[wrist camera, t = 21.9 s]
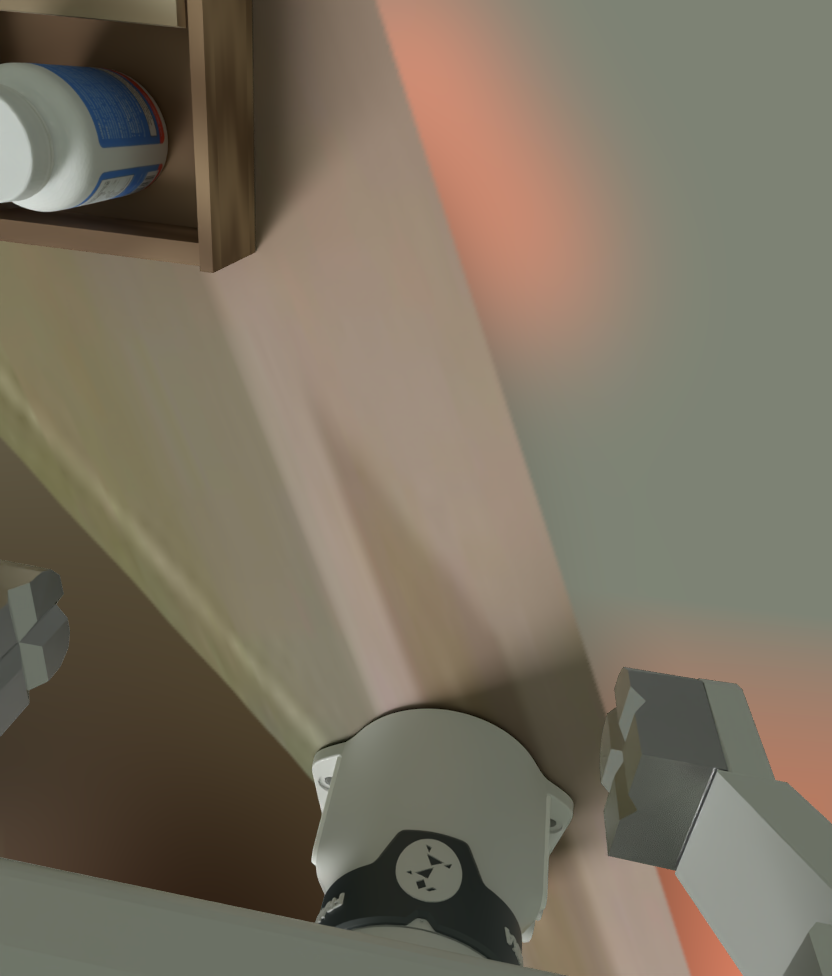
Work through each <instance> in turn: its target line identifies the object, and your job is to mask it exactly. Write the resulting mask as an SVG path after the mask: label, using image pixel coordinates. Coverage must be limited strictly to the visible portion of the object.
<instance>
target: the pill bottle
mask: <svg viewBox="0 0 832 976" xmlns="http://www.w3.org/2000/svg"><path fill="white" fill-rule="evenodd" d="M167 152H168V135H167V129H166V124H165V121H164V118H163V116H162V114H161V111H160V109H159V107H158V106H157V104H156V102H155V101H154V99H153V98H152V96H151V95H150V94H149V93H148V92H147V90H146V89H145V88H144V87H143V86H142V85H140V84H139V83H138V82H137V81H135V80H134V79H132V78H131V77H129V76H127V75H125V74H123V73H121V72H118V71H115V70H111V69H105V68H94V67H80V66H66V65H52V64H37V63H4V64H0V203H4V202H13V203H15V204H17V205H19V206H21V207H24V208H27V209H30V210H35V211H41V212H53V211H60V210H65V209H70V208H74V207H79V206H83V205H87V204H92V203H96V202H100V201H105V200H109V199H114V198H118V197H123V196H127V195H130V194H134V193H137V192H139V191H141V190H143V189H145V188H147V187H148V186H149V185H151V184H152V183H153V182H154V181H155V180H156V179H157V177H158V176H159V175H160V173H161V171H162V169H163V167H164V165H165V162H166V158H167Z"/></svg>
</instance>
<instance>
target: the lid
mask: <svg viewBox="0 0 832 976" xmlns="http://www.w3.org/2000/svg"><path fill="white" fill-rule="evenodd" d="M0 11H11V12H21V13H32V14H42V15H52V16H63V17H73V18H84V19H94V20H104V21H115V22H125V23H136V24H146V25H157V26H167V27H177V28H186V18H185V0H0Z"/></svg>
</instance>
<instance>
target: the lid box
mask: <svg viewBox="0 0 832 976" xmlns="http://www.w3.org/2000/svg"><path fill="white" fill-rule="evenodd" d="M185 18H186V28H177V27H167V26H157V25H146V24H136V23H125V22H115V21H104V20H94V19H84V18H73V17H63V16H52V15H42V14H32V13H21V12H11V11H0V64H4V63H37V64H52V65H66V66H80V67H94V68H105V69H111V70H115V71H118V72H121V73H123V74H125V75H127V76H129V77H131V78H132V79H134V80H135V81H137V82H138V83H139V84H140V85H142V86H143V87H144V88H145V89H146V90H147V92H148V93H149V94H150V95H151V96H152V98H153V99H154V101H155V102H156V104H157V106H158V107H159V109H160V111H161V114H162V116H163V118H164V121H165V124H166V129H167V135H168V152H167V158H166V162H165V165H164V167H163V169H162V171H161V173H160V175H159V176H158V177H157V179H156V180H155V181H154V182H153V183H152V184H151V185H149V186H148V187H147V188H145V189H143V190H141V191H139V192H137V193H134V194H130V195H127V196H123V197H118V198H114V199H109V200H105V201H100V202H96V203H92V204H87V205H83V206H79V207H74V208H70V209H65V210H60V211H53V212H41V211H35V210H30V209H27V208H24V207H21V206H19V205H17V204H15V203H13V202H4V203H0V241H7V242H15V243H23V244H31V245H39V246H46V247H54V248H62V249H70V250H78V251H86V252H94V253H102V254H110V255H117V256H125V257H133V258H141V259H149V260H157V261H165V262H173V263H181V264H188V265H196V266H200V271H202V272H210V273H214V272H216V271H218V270H220V269H222V268H224V267H226V266H228V265H230V264H232V263H234V262H236V261H238V260H240V259H242V258H244V257H247V256H249V255H251V254H253V253H255V189H254V110H253V31H252V0H185Z"/></svg>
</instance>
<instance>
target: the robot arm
mask: <svg viewBox="0 0 832 976" xmlns="http://www.w3.org/2000/svg"><path fill="white" fill-rule="evenodd" d="M62 595H63V588H62V584H61V579H60V575H59V574H57V573H55V572H54V571H53V570H51V569H45V568H41V567H36V566H30V565H25V564H20V563H15V562H10V561H5V560H0V736H1V735H2V734H3V733H4V732H5V730H6V729H7V728H8V727H9V726H10V725H11V724H12V722H13V721H14V720H15V719H16V718H17V717H18V716H19V714H20V713H21V712H22V711H23V710H24V709H25V707H26V706H27V705H28V704H29V690H30V689H32V688H34V687H37V686H39V685H41V684H43V683H45V682H47V681H49V680H50V678H51V677H52V676H53V675H54V674H55V672H56V671H57V670H58V669H59V668H60V666H61V664H62V661H63V659H64V656H65V654H66V652H67V649H68V645H69V635H70V630H69V624H68V618H67V617H66V616H65V615H64V614H63V612H62V611H61V610H60V609H59V607H58V606H57V605H56V603H57V602H58V601H59V599H60V598H61V597H62ZM615 698H616V706H617V707H616V708H614V709H613V710H612V711H610V712H609V713H607V716H606V720H605V724H604V728H603V732H602V740H601V747H600V776H601V784H602V785H603V786H604V787H605V788H606V790H607V791H608V792H609V795H608V798H607V802H606V805H605V808H604V820H605V829H606V839H607V849H608V856H612V857H616V858H621V859H625V860H630V861H634V862H639V863H643V864H648V865H652V866H657V867H662V868H666V869H671V870H675V871H676V872H675V875H676V876H677V878H678V879H679V881H680V882H681V884H682V885H683V887H684V888H685V890H686V891H687V893H688V894H689V896H690V897H691V899H692V900H693V901H694V903H695V905H696V906H697V907H698V909H699V910H700V912H701V914H702V915H703V916H704V918H705V919H706V921H707V922H708V924H709V925H710V927H711V928H712V930H713V931H714V933H715V934H716V936H717V937H718V939H719V940H720V942H721V943H722V945H723V946H724V948H725V949H726V951H727V952H728V954H729V955H730V957H731V958H732V960H733V961H734V962H735V964H736V966H737V967H738V969H739V970H740V972H741V973H742V975H743V976H832V824H831V823H830V822H829V821H828V820H827V819H826V818H825V817H824V816H823V815H822V814H821V813H820V812H818V811H817V810H816V809H815V808H814V807H813V806H812V805H811V804H810V803H809V802H808V801H807V800H805V799H804V798H803V797H802V796H801V795H800V794H799V793H798V792H797V791H796V790H794V788H793V787H791V786H790V785H789V784H788V783H787V782H781V781H776V780H775V778H774V775H773V773H772V770H771V767H770V764H769V761H768V759H767V756H766V753H765V750H764V748H763V745H762V742H761V740H760V737H759V734H758V731H757V729H756V726H755V723H754V720H753V718H752V715H751V712H750V710H749V707H748V704H747V701H746V698H745V696H744V693H743V690H742V689H741V688H740V687H739V686H738V685H737V684H734V683H727V682H720V681H713V680H706V679H700V678H699V679H693V678H687V677H681V676H675V675H669V674H662V673H657V672H651V671H644V670H638V669H632V668H626V667H623V668H622V670H621V672H620V674H619V676H618V679H617V682H616V686H615ZM312 772H313V777H314V781H315V785H316V790H317V794H318V798H319V802H320V807H321V811H322V817H321V821H320V825H319V828H318V832H317V836H316V840H315V844H314V848H313V852H312V863H313V864H315V865H316V871H317V877H318V880H319V882H320V885H321V887H322V889H323V891H324V894H325V896H324V900H323V903H322V907H321V911H320V914H319V915H318V917H317V919H316V922H315V923H312V922H307V921H302V920H297V919H292V918H288V917H283V916H278V915H273V914H268V913H263V912H258V911H254V910H249V909H245V908H240V907H235V906H230V905H225V904H220V903H216V902H211V901H206V900H202V899H196V898H192V897H187V896H182V895H178V894H173V893H168V892H163V891H159V890H154V889H149V888H144V887H139V886H135V885H130V884H125V883H120V882H115V881H111V880H106V879H101V878H96V877H91V876H87V875H81V874H77V873H73V872H67V871H63V870H58V869H53V868H49V867H44V866H39V865H34V864H29V863H25V862H19V861H15V860H10V859H6V858H1V857H0V976H566V975H561V974H557V973H552V972H547V971H542V970H537V969H533V968H528V967H523V957H522V942H529V941H530V939H531V937H532V934H533V930H534V925H535V920H537V921H539V920H540V919H541V917H542V913H543V909H545V907H546V902H547V890H548V863H549V855H550V854H551V852H552V851H553V849H554V847H555V846H556V844H557V843H558V841H559V839H560V838H561V836H562V835H563V833H564V831H565V830H566V828H567V826H568V825H569V823H570V822H571V820H572V817H573V807H574V803H573V801H572V799H571V798H570V797H569V796H568V795H567V794H566V793H565V792H564V791H563V790H561V789H560V788H558V787H557V786H556V785H554V784H553V783H551V782H550V781H549V780H547V779H546V778H545V777H544V775H543V774H542V773H541V771H540V770H539V768H538V766H537V765H536V763H535V761H534V760H533V758H532V757H531V755H530V754H529V753H528V752H527V750H526V749H525V748H524V747H523V746H522V745H521V744H520V743H519V742H518V741H517V740H516V739H514V738H513V737H512V736H511V735H509V734H508V733H506V732H505V731H503V730H502V729H500V728H498V727H497V726H495V725H493V724H491V723H489V722H487V721H485V720H482V719H480V718H477V717H474V716H471V715H468V714H464V713H460V712H455V711H450V710H442V709H413V710H406V711H400V712H396V713H393V714H390V715H387V716H384V717H382V718H379V719H378V720H376V721H374V722H372V723H370V724H369V725H367V726H366V727H365V728H363V729H362V730H361V731H360V732H359V733H358V734H356V735H355V736H354V737H353V738H351V739H350V740H348V741H347V742H344V743H340V744H337V745H333V746H330V747H327V748H324V749H322V750H320V751H318V752H317V753H316V754H315V756H314V760H313V765H312Z"/></svg>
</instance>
